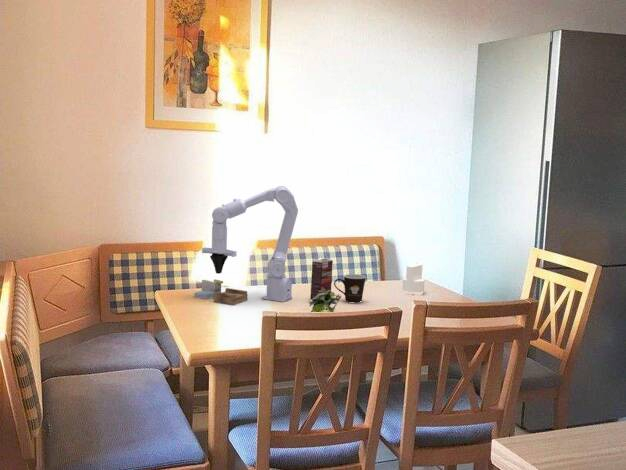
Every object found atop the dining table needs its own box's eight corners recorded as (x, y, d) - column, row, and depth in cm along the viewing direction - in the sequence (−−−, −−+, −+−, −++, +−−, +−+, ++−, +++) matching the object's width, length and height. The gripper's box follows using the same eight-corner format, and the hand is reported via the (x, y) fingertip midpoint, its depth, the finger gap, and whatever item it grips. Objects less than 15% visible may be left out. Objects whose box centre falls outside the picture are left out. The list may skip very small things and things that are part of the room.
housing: (247, 300, 266) (247, 290, 265) (233, 305, 257) (233, 295, 256) (227, 296, 269) (227, 287, 269) (213, 302, 260) (213, 292, 260)
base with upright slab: (408, 289, 297) (410, 262, 296) (427, 293, 292) (429, 265, 290) (398, 292, 290) (400, 265, 288) (417, 296, 285) (419, 268, 283)
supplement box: (320, 303, 266) (322, 263, 264) (309, 301, 269) (311, 261, 266) (331, 299, 273) (333, 260, 271) (321, 297, 276) (323, 258, 274)
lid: (201, 290, 272) (201, 295, 272) (194, 292, 267) (194, 297, 268) (214, 292, 269) (214, 297, 270) (207, 294, 265) (206, 299, 265)
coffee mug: (367, 300, 274) (368, 276, 272) (359, 305, 266) (361, 279, 264) (340, 296, 278) (341, 272, 277) (332, 300, 271) (333, 276, 269)
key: (224, 295, 271) (224, 280, 270) (219, 296, 269) (219, 281, 268) (205, 290, 278) (205, 276, 277) (200, 291, 276) (201, 277, 275)
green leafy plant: (320, 326, 253) (332, 298, 257) (339, 328, 244) (351, 298, 248) (298, 312, 247) (312, 283, 251) (317, 313, 239) (330, 283, 243)
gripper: (197, 237, 264) (197, 272, 266) (229, 241, 258) (229, 277, 260) (207, 235, 270) (207, 269, 272) (239, 239, 264) (238, 273, 266)
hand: (218, 273), depth 266 cm, fingers closed
